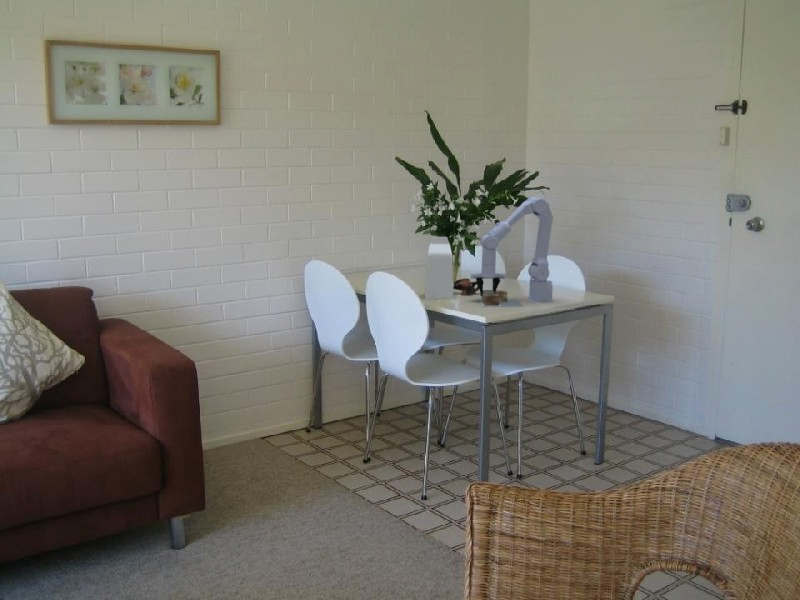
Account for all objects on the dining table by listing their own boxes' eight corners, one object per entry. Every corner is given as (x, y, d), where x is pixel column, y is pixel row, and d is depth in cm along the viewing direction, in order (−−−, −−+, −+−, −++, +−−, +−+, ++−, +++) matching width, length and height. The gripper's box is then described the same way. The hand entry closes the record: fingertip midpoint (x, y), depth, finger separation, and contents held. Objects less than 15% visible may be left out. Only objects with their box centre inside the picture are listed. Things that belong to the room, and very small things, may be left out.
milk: (425, 299, 380) (426, 238, 375) (424, 294, 391) (425, 235, 387) (453, 299, 380) (454, 238, 375) (452, 295, 391) (453, 235, 386)
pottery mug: (455, 297, 387) (451, 280, 390) (456, 303, 396) (452, 286, 399) (482, 291, 387) (478, 273, 389) (483, 297, 396) (478, 280, 398)
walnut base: (496, 302, 370) (496, 293, 370) (499, 305, 364) (499, 295, 364) (482, 302, 370) (482, 293, 369) (484, 305, 364) (484, 295, 363)
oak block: (505, 299, 379) (505, 290, 378) (507, 301, 374) (507, 292, 374) (494, 299, 379) (494, 290, 378) (496, 301, 374) (496, 292, 373)
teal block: (493, 301, 372) (494, 291, 372) (483, 301, 372) (483, 291, 371) (491, 299, 377) (491, 290, 376) (481, 299, 376) (481, 290, 376)
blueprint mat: (515, 300, 380) (515, 299, 380) (524, 307, 362) (524, 306, 362) (476, 300, 379) (476, 299, 379) (483, 307, 361) (483, 306, 361)
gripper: (503, 262, 376) (502, 294, 379) (469, 262, 375) (468, 294, 377) (507, 264, 369) (506, 297, 372) (472, 264, 368) (471, 296, 371)
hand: (487, 295), depth 374 cm, fingers closed on teal block, 4 cm apart
